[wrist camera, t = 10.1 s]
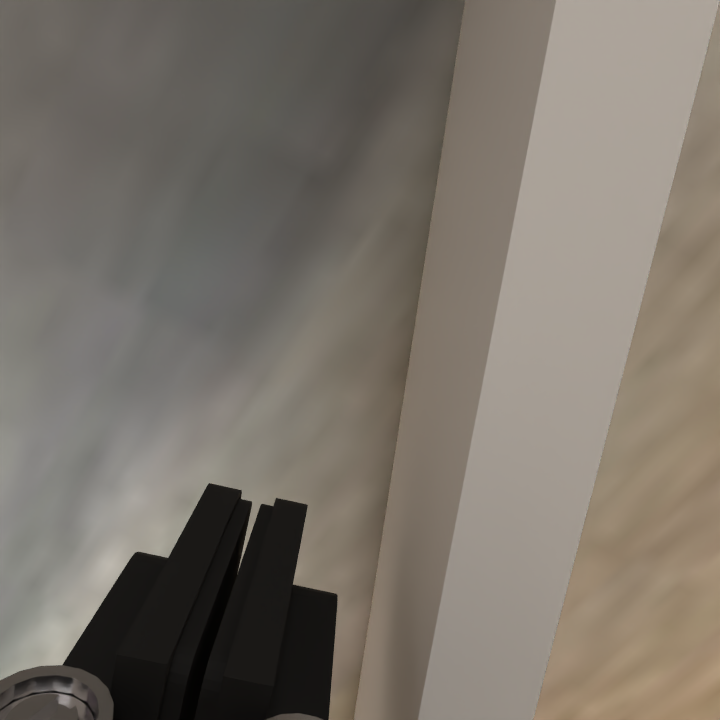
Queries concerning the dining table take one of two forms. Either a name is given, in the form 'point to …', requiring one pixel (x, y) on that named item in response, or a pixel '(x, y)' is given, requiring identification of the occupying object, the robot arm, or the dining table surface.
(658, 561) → the dining table surface
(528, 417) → the door
